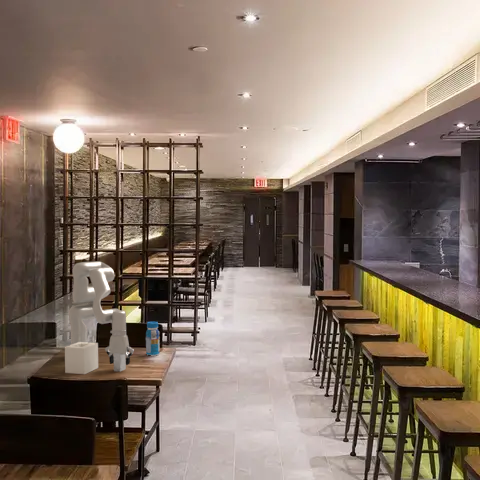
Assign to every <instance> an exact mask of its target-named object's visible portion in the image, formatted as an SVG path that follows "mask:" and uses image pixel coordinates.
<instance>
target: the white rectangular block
mask: <svg viewBox="0 0 480 480" xmlns="http://www.w3.org/2000/svg"><path fill="white" fill-rule="evenodd" d="M113 356H114V363H113V372H119V373H120V372H122V371H124V370H126V369H127V368H126V367H127V365H126V358H127V357H126V356H125V355H121V354H120V353H114V354H113Z"/></svg>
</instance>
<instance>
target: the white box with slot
mask: <svg viewBox="0 0 480 480" xmlns="http://www.w3.org/2000/svg"><path fill="white" fill-rule="evenodd" d="M96 369H97V370H98V369H99V343H98V342H88V341H87V342H78V343H75V344H72V345H71V344H70V345H67V346H65V347H64V371H65V372H64V373H65V374H75V375H76V374H77V375H86V374H88V373H90V372H92V371H95V370H96Z"/></svg>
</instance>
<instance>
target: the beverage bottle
mask: <svg viewBox="0 0 480 480" xmlns="http://www.w3.org/2000/svg"><path fill="white" fill-rule="evenodd" d="M146 328H147V330H146V332H145V347H146V348H145V351H146V352H145V354H147V355H146V356H148V355H151V357H156V355H157V356H159V355H160V338H161V337H160V331H159V329H158V328H159V323H158V321H147V323H146Z"/></svg>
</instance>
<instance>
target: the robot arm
mask: <svg viewBox="0 0 480 480" xmlns="http://www.w3.org/2000/svg"><path fill="white" fill-rule="evenodd" d="M88 277H89V279H90V282H91V285H92V286H89V279H88ZM115 277H116V276H115V272H114V269H113V268H112V267H110V265H108V264H106V263H105V262H102V261H99V260H98V261H83V262H77V263H75V264H74V265H73V268H72V278H73V285H72V286H73V289H72V301H73V303H74V304H76V305H73V306H71V307H70V308H69V310H68V318H69V323H70V343H71V344H70V345H72V344H75V343H78V342H88V326H87V324H85V322H84V321H88V320H94V319H96V321H97V323H98V324H101V325H104V324H109V323H110V324H111V328H112V329H111V330H110V332H109V333H110V334H112V335H110V339H109V345H108V346H107V347H105V348H104V351H105V352H106V354H107V356H108V357H109V364H110V365H112V364H114V353H120V354H121V355H125V357H126V366H128V365H130V363H131V357H132V356H133V354H134V351H135V349H134V348H133V347H131V346H130V344H129V337H128V335H127V314H126V311H125V310H120V309H118V308H110V309H103V308H102V306H101V301H102V299H104V298H106V297H108V296H109V295H110V294H111V287H110V286H109V282H113V280H114V279H115Z"/></svg>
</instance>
